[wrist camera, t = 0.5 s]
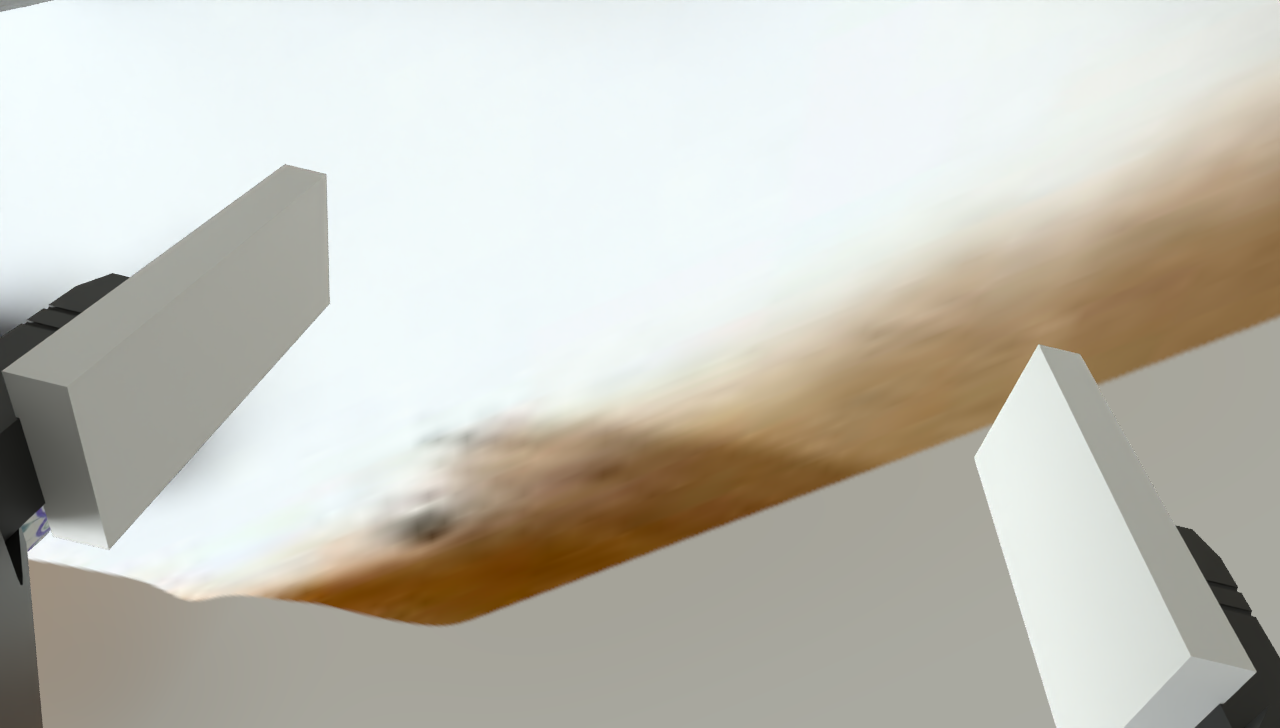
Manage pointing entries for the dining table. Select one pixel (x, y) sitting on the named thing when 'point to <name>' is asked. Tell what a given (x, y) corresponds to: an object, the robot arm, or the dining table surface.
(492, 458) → the dining table surface
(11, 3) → the vase
